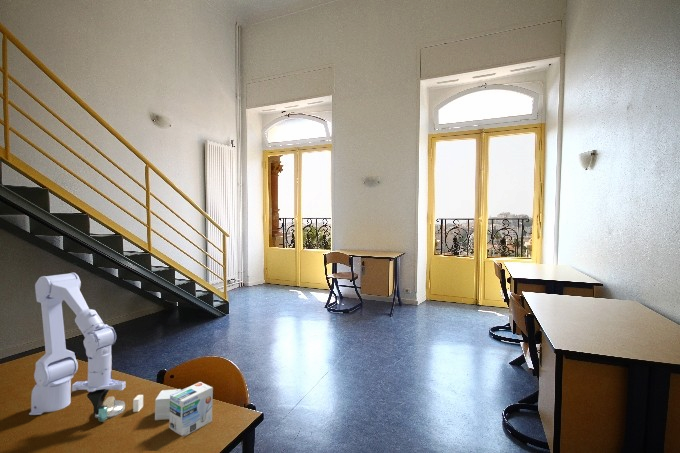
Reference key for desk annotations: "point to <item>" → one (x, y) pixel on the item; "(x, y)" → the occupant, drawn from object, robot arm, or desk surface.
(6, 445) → the desk surface
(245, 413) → the desk surface
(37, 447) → the desk surface
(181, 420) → the light bulb box
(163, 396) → the product box
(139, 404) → the white rectangular box
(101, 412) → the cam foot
